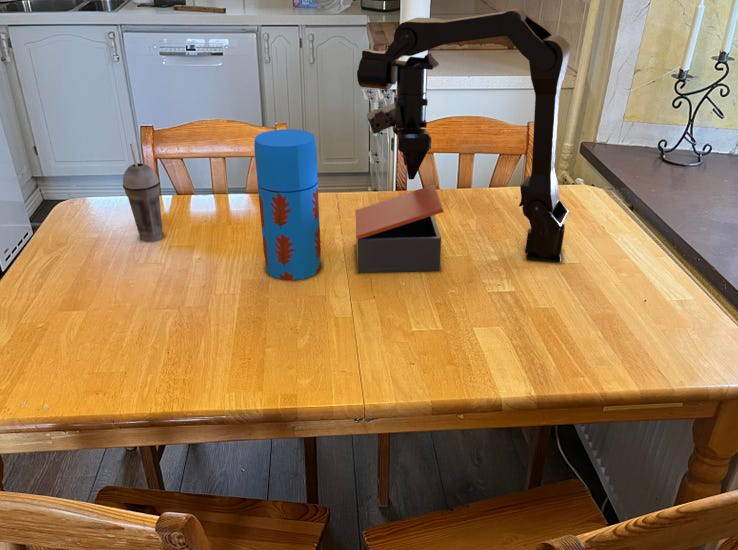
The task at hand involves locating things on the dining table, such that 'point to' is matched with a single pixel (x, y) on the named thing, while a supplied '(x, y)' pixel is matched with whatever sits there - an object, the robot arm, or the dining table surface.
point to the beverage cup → (144, 199)
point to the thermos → (289, 202)
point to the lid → (397, 211)
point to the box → (401, 248)
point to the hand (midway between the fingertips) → (409, 171)
